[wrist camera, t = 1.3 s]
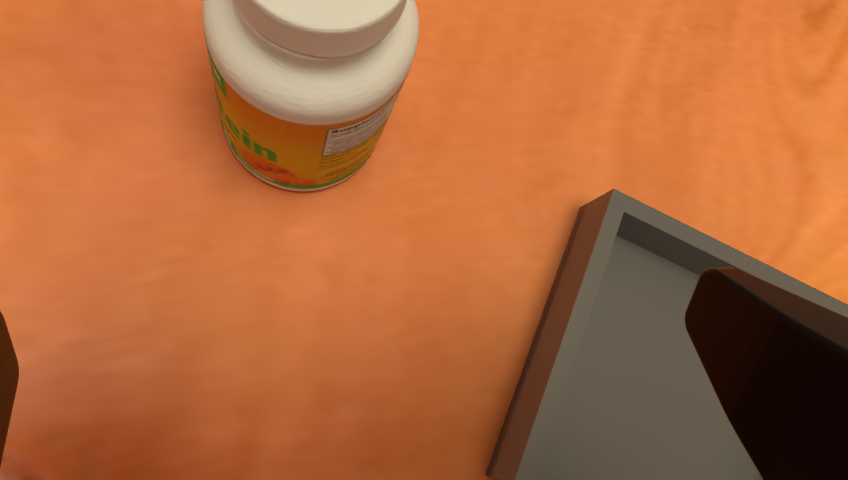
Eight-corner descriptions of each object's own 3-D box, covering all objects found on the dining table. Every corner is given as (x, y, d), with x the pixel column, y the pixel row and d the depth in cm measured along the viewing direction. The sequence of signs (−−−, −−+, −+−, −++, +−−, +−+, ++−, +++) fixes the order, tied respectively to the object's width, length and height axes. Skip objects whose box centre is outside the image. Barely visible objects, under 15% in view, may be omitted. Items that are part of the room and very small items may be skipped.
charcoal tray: (744, 584, 23) (799, 607, 20) (486, 474, 22) (512, 486, 19) (805, 317, 26) (860, 310, 23) (580, 207, 24) (613, 188, 22)
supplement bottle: (189, 96, 22) (129, -111, 13) (321, 24, 24) (352, -205, 14) (281, 225, 22) (288, 110, 13) (407, 143, 23) (496, -11, 14)
